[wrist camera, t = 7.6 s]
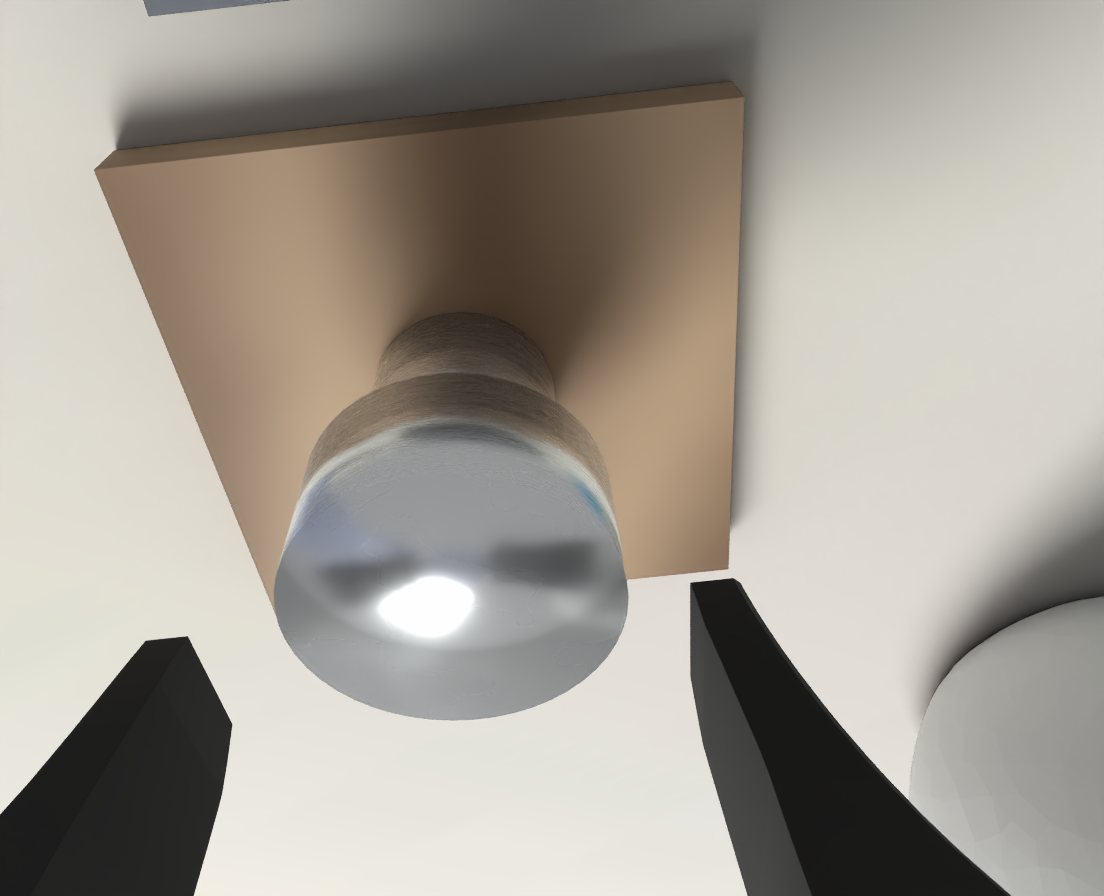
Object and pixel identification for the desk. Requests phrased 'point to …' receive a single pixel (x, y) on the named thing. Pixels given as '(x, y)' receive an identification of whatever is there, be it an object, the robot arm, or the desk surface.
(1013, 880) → the decorative egg
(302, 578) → the end cover
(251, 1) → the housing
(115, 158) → the pad
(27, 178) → the desk surface
